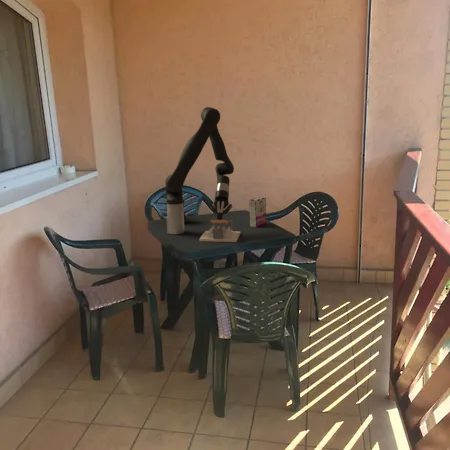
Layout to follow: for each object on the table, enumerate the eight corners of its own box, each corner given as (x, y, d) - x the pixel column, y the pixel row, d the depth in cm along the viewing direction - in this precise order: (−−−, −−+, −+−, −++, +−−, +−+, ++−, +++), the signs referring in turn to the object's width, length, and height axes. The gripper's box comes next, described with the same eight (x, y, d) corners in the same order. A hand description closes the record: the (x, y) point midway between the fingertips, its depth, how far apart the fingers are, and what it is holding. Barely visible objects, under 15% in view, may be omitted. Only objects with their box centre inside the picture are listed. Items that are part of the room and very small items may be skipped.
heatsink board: (199, 241, 265) (198, 226, 264) (205, 232, 282) (205, 219, 280) (236, 242, 262) (235, 227, 260) (240, 233, 278) (240, 219, 277)
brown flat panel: (215, 223, 277) (210, 221, 264) (215, 221, 277) (210, 219, 264) (229, 223, 276) (225, 222, 263) (229, 221, 276) (225, 219, 263)
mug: (166, 219, 317) (165, 196, 313) (183, 217, 320) (182, 194, 316) (171, 225, 300) (169, 201, 296) (189, 223, 303) (188, 199, 299)
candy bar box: (259, 222, 302) (259, 196, 298) (266, 223, 299) (266, 197, 295) (249, 226, 293) (248, 199, 289) (256, 227, 290) (255, 200, 286)
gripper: (209, 189, 275) (206, 216, 267) (233, 189, 273) (230, 216, 264) (211, 196, 281) (208, 223, 273) (234, 196, 279) (232, 223, 271)
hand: (219, 219), depth 269 cm, fingers closed
